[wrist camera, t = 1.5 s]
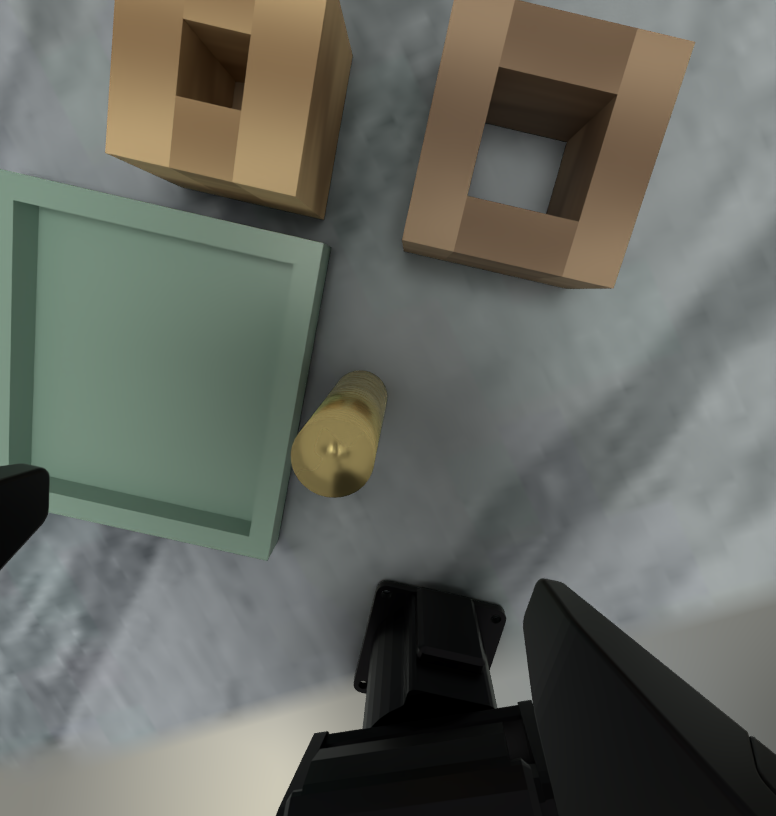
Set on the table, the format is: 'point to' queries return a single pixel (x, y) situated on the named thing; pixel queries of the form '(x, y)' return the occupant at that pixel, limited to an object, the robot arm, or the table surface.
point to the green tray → (154, 361)
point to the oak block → (231, 96)
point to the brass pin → (341, 437)
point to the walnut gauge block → (550, 117)
